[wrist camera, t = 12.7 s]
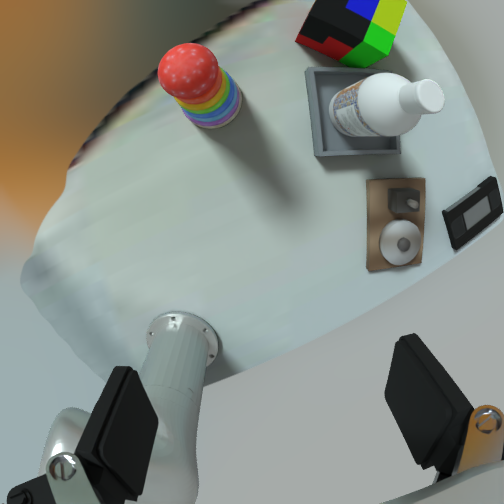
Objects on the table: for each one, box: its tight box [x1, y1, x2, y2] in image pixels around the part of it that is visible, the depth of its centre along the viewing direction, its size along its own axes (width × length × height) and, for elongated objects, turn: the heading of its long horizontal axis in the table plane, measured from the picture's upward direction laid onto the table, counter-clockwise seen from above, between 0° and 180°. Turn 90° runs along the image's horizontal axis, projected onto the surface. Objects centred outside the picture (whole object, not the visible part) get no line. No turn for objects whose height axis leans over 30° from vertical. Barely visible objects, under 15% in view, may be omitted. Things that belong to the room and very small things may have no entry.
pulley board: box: [366, 178, 425, 271], centre depth 40 cm, size 14×10×6 cm
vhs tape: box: [442, 176, 503, 250], centre depth 42 cm, size 8×14×2 cm, turn 122°
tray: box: [305, 67, 401, 156], centre depth 36 cm, size 12×12×3 cm
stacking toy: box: [158, 43, 242, 129], centre depth 27 cm, size 8×8×19 cm
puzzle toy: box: [295, 0, 407, 68], centre depth 28 cm, size 10×10×10 cm
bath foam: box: [329, 73, 445, 137], centre depth 27 cm, size 7×7×20 cm
